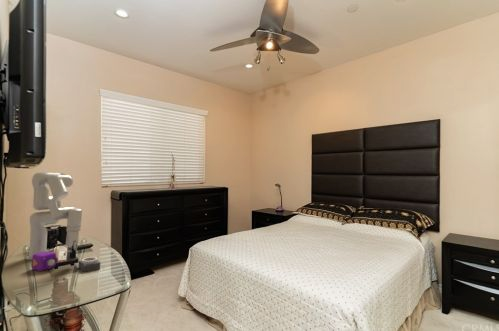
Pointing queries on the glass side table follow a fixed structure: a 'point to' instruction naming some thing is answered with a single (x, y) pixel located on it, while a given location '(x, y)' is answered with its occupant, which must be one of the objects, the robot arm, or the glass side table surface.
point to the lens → (69, 254)
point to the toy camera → (44, 260)
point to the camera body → (89, 264)
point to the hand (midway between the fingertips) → (71, 256)
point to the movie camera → (56, 235)
